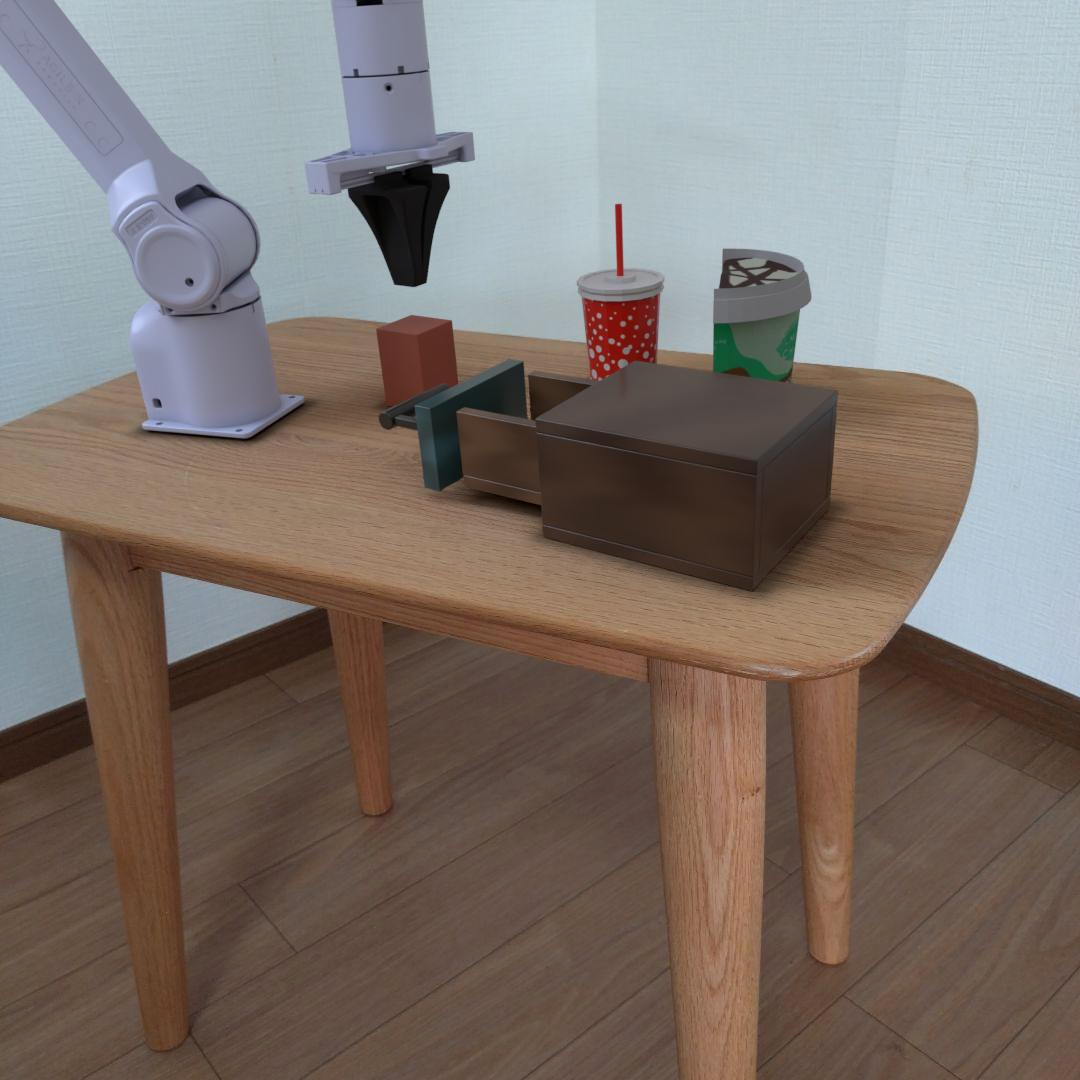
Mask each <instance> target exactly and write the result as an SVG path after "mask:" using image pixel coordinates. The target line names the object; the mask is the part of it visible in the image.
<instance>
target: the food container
mask: <svg viewBox="0 0 1080 1080" xmlns="http://www.w3.org/2000/svg"><path fill="white" fill-rule="evenodd" d="M721 255H722V256H721V257H722V258H721V274H720V278H719V283H718V288H713V308H712V312H713V313H712V324H713V330H712V331H713V333H712V334H713V335H712V337H713V338H712V339H713V341H712V342H713V343H712V344H713V345H712V346H713V347H712V348H713V349H712V359H713V360H712V362H713V363H712V372H717V373H724V374H731V375H738V376H745V377H752V378H759V379H766V380H773V381H780V382H787V383H792V376H793V369H794V361H795V354H796V353H795V352H796V347H797V346H796V345H797V339H798V331H799V324H800V323H799V322H800V314H801V309H803V308H805V307H806V306H808V305H809V304H810V302H811V301H812V297H813V296H812V291H811V283H810V278H809V274H808V272H807V271H806V270H805V265H804V262H803V261H801V260H800V259H799V258H796V257H795V256H792V255H789V254H785V253H782V252H777V251H772V250H766V249H765V250H764V249H755V248H754V249H753V248H722V254H721Z"/></svg>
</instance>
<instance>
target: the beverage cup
mask: <svg viewBox="0 0 1080 1080" xmlns="http://www.w3.org/2000/svg"><path fill="white" fill-rule="evenodd" d="M614 216H615V217H614V221H615V257H616V268H610V269H602V270H597V271H591V272H588V273H585V274H584V275H581V276H579V278H578V279H577V280H576V286H577V293H578V295H579V296H580V297H581V304H582V305H581V306H582V315H583V321H584V322H583V324H584V334H585V342H586V351H587V362H588V371H589V379H592V380H598V381H601V380H602V379H604V378H606V377H607V376H609V375H611V374H613V373H614V372H616V371H618V370H619V369H621V368H623V367H625V366H626V365H628V364H630V363H632V362H633V361H641V362H648V363H655V364H658V350H659V349H658V347H659V345H658V344H659V328H660V306H661V294H662V293H663V290H664V289H665V285H664V282H665V275H664V274H663V273H661V272H659V271H656V270H653V269H647V268H635V267H630V268H629V267H624V234H623V204H622V203H614Z"/></svg>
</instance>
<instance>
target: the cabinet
mask: <svg viewBox="0 0 1080 1080" xmlns="http://www.w3.org/2000/svg"><path fill="white" fill-rule="evenodd" d="M838 399H839V389H834V388H829V387H823V386H822V387H821V386H814V385H807V384H800V383H792V382H791V383H787V382H780V381H773V380H766V379H759V378H752V377H745V376H738V375H731V374H724V373H717V372H713V371H711V370H710V371H709V370H703V369H698V368H697V369H696V368H690V367H683V366H675V365H668V364H661V363H657V364H655V363H648V362H641V361H633V362H632V363H630V364H628V365H626V366H625V367H623V368H621V369H619V370H618V371H616V372H614V373H613V374H611V375H609V376H607V377H606V378H604V379H602V380H601V381H599V382H597V383H595V384H594V385H592V386H590V387H589V388H587V389H585V390H583V391H582V392H580V393H578V394H576V395H575V396H573V397H571V398H570V399H568V400H566V401H564V402H563V403H561V404H559V405H558V406H556V407H554V408H552V409H551V410H549V411H547V412H546V413H544V414H542V415H540V416H539V417H537V418H536V419H535V423H536V432H537V433H536V438H537V452H538V467H539V482H540V496H541V505H540V509H541V523H542V536H543V538H546V539H551V540H556V541H558V542H562V543H566V544H568V545H569V544H570V545H574V546H578V547H580V548H585V549H588V550H593V551H597V552H600V553H605V554H608V555H612V556H616V557H620V558H624V559H628V560H630V561H635V562H639V563H642V564H646V565H651V566H654V567H658V568H662V569H665V570H670V571H674V572H677V573H681V574H685V575H690V576H693V577H696V578H700V579H705V580H707V581H712V582H716V583H720V584H723V585H727V586H730V587H731V586H732V587H735V588H739V589H742V590H746V591H750V592H752V591H754V589H756V588H757V587H758V586H759V584H761V582H762V581H763V580H764V579H765V578H766V577H767V575H769V573H771V572H772V571H773V569H775V567H776V566H777V565H778V564H779V563H780V562H781V561H782V560H783V558H784V557H786V555H787V554H788V553H790V551H791V550H792V549H793V548H794V547H795V546H796V544H798V542H799V541H801V540H802V539H803V537H804V536H805V535H806V534H807V533H808V532H809V531H810V530H811V528H812V527H813V526H814V525H815V524H816V523H817V522H818V521H819V520H820V519H821V518H822V517H823V516H824V514H825V513H827V511H829V509H830V508H831V507H830V506H831V494H832V481H833V470H834V469H833V467H834V454H835V441H836V440H835V439H836V427H837V417H838V416H837V414H838V402H839V401H838Z"/></svg>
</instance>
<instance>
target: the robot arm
mask: <svg viewBox="0 0 1080 1080" xmlns="http://www.w3.org/2000/svg"><path fill="white" fill-rule="evenodd" d="M330 4H331V11H332V19H333V27H334V32H335V33H334V34H335V41H336V48H337V49H336V50H337V55H338V56H337V57H338V63H339V70H340V71H339V72H340V76H341V77H340V78H341V85H342V92H343V93H342V94H343V100H344V108H345V115H346V121H347V130H348V136H349V145H350V147H349V148H346V149H344V150H341V151H338V152H334V153H332V154H328V155H325V156H323V157H320V158H316V159H313V160H308V161H304V163H303V164H304V169H305V175H306V183H307V188H308V193H309V194H310V195H325V196H333V195H337V194H341V193H342V191H344V190H347V195H348V198H349V199H350V201H351V202H352V203H353V205H354V206H355V207H356V208H357V210H358V211H359V213H360V214H361V216H362V217H363V218H364V220H365V222H366V223H367V225H368V227H369V229H370V230H371V232H372V234H373V236H374V238H375V240H376V243H377V244H378V247H379V249H380V252H381V255H382V257H383V259H384V262H385V264H386V266H387V269H388V272H389V274H390V277H391V280H392V282H393V285H394V286H401V287H409V288H417V287H419V286H422V285H426V284H427V283H428V277H429V268H430V260H431V254H432V253H431V252H432V248H433V247H432V246H433V242H434V241H433V240H434V235H435V232H436V231H435V230H436V226H437V223H438V218H439V216H440V213H441V210H442V207H443V205H444V202H445V199H446V198H447V195H448V193H449V191H450V189H451V185H450V184H451V182H450V175H449V174H448V173H441V172H434V168H440V167H443V166H447V165H452V164H455V163H470V162H473V161H475V160H476V155H475V153H476V152H475V143H474V141H475V140H474V133H473V131H448V132H442V133H437V130H436V122H435V111H434V103H433V92H432V79H431V71H430V59H429V49H428V37H427V29H426V20H425V19H426V18H425V10H424V0H330ZM0 66H1V68H2V69H3V70H4V71H5V73H6V74H7V75H8V76H9V78H10V79H11V80H12V81H13V83H14V85H16V86H17V88H19V90H20V91H21V92H22V94H23V95H24V96H25V97H26V99H27V100H28V101H29V102H30V104H31V105H32V106H33V107H34V108H35V109H36V111H37V112H38V113H39V114H40V116H41V117H42V118H43V119H44V121H46V123H47V124H48V125H49V127H50V128H51V130H53V131H54V133H55V134H56V135H57V136H58V138H59V139H60V140H61V141H62V142H63V144H64V145H65V146H66V147H67V148H68V150H69V151H70V152H71V153H72V155H73V156H74V157H75V158H76V159H77V161H78V162H79V163H80V164H81V166H82V167H83V168H84V170H85V171H86V172H87V174H89V176H90V177H91V178H92V179H93V180H94V182H95V183H96V184H97V185H98V187H99V188H100V189H101V191H102V192H103V193H104V194H105V196H106V198H107V206H108V219H109V227H110V230H111V232H112V233H113V235H115V237H116V238H117V239H118V240H119V241H120V243H121V245H122V246H123V247H124V250H125V251H126V253H127V255H128V258H129V261H130V264H131V268H132V272H133V275H134V277H135V278H136V281H137V283H138V284H139V286H140V288H141V289H142V291H144V292H145V294H146V295H148V296H149V298H151V300H150V301H146V302H144V304H142V305H141V307H139V309H137V311H136V312H135V314H134V315H133V318H132V321H131V325H130V331H129V345H130V351H131V354H132V359H133V363H134V368H135V371H136V374H137V379H138V383H139V386H140V390H141V395H142V398H143V401H144V406H145V410H146V414H147V415H146V416H147V418H148V419H147V420H145V421H143V422H142V423H141V427H142V429H143V430H145V431H154V432H166V433H176V434H186V435H187V434H188V435H197V436H198V435H200V436H201V435H202V436H211V437H220V438H221V437H223V438H232V439H249V438H252V437H253V436H255V435H257V434H258V433H259V432H261V431H263V430H264V429H266V428H267V427H268V426H270V425H271V424H273V423H275V422H276V421H278V420H279V419H281V418H282V417H284V416H285V415H287V414H288V413H290V412H292V411H293V410H294V409H296V408H298V407H299V406H301V405H303V404H304V403H305V402H306V401H305V396H304V395H298V394H286V393H285V394H283V393H280V390H279V384H278V379H277V375H276V374H277V373H276V369H275V363H274V358H273V352H272V348H271V343H270V342H271V341H270V337H269V331H268V326H267V320H266V316H265V310H264V305H263V299H262V296H261V287H260V286H259V284H258V283H257V282H256V281H255V278H254V276H253V275H252V269H253V268H254V266H255V265H256V263H257V261H258V259H259V255H260V253H261V235H260V229H259V227H258V224H257V222H256V221H255V219H254V217H253V216H252V214H251V213H250V212H249V210H248V209H247V208H246V207H245V206H244V205H242V204H241V203H240V202H238V201H237V200H235V199H233V198H232V197H230V196H228V195H226V194H224V193H223V192H221V191H220V190H219V189H218V188H217V187H215V186H214V184H212V182H211V181H210V180H209V179H208V178H207V176H206V175H205V174H204V172H202V170H200V169H199V168H198V167H195V166H194V165H193V164H191V163H190V162H188V161H187V160H185V159H183V158H182V157H180V156H179V155H177V154H175V153H174V152H173V151H172V150H171V149H170V148H169V146H168V145H167V144H166V142H165V141H164V140H163V139H162V138H161V136H160V135H159V133H158V132H157V131H156V129H155V128H154V127H153V126H152V125H151V123H150V122H149V121H148V120H147V118H146V117H145V115H144V114H143V113H142V112H141V111H140V109H139V107H138V106H137V105H136V104H135V103H134V101H133V100H132V99H131V97H130V96H129V95H128V94H127V92H126V91H125V89H124V88H123V87H122V85H120V83H119V82H118V81H117V79H116V78H115V77H114V75H112V73H111V72H110V70H109V69H108V68H107V66H106V65H105V64H104V63H103V61H102V60H101V59H100V58H99V56H98V55H97V54H96V52H95V51H94V50H93V48H92V47H91V45H90V44H89V43H88V42H87V40H85V38H84V37H83V36H82V34H81V33H80V32H79V30H78V29H77V28H76V27H75V25H74V24H73V22H72V21H71V20H70V18H69V17H68V16H67V15H66V13H65V12H64V11H63V10H62V8H61V7H60V6H59V5H58V3H57V2H56V1H55V0H0ZM395 166H396V167H395ZM388 167H392V168H388Z"/></svg>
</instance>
